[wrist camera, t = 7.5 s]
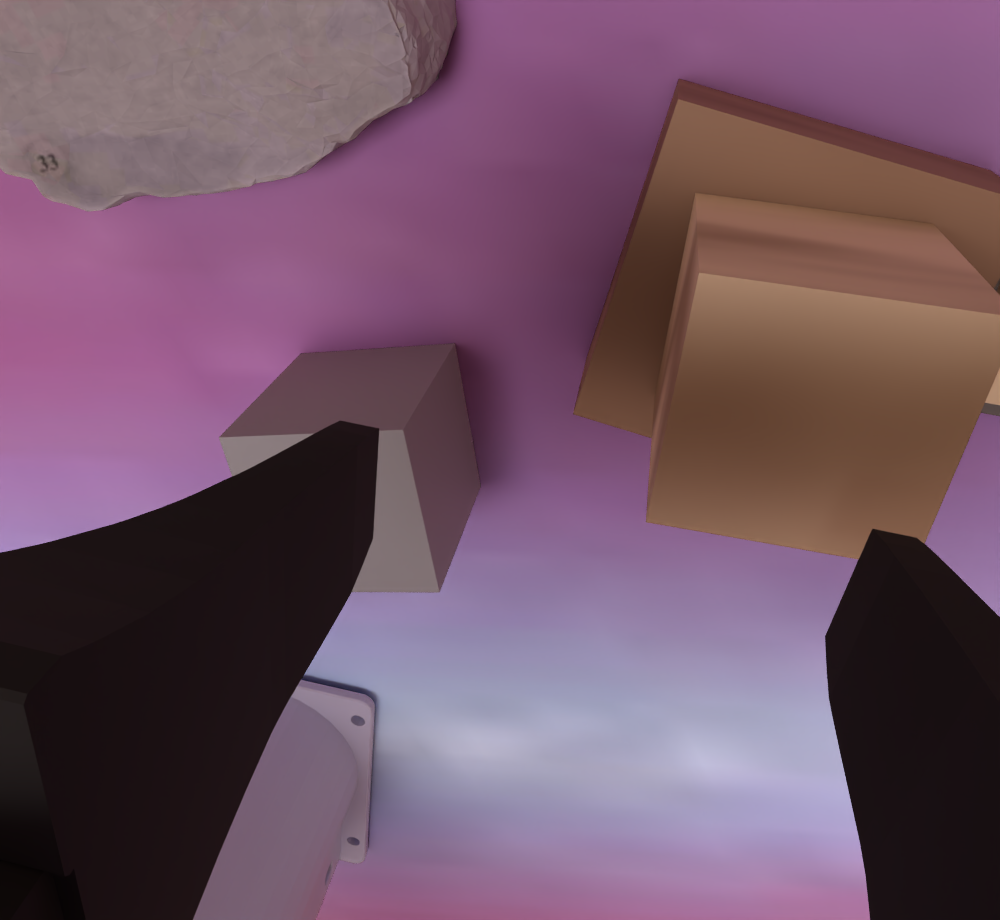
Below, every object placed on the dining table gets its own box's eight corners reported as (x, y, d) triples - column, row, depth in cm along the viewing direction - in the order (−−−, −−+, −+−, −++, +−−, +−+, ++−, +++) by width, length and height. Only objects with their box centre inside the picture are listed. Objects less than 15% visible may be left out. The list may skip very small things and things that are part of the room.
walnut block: (841, 431, 22) (866, 504, 19) (587, 353, 23) (573, 414, 20) (985, 166, 19) (1042, 206, 16) (678, 76, 19) (678, 98, 16)
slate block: (481, 485, 25) (438, 592, 21) (338, 488, 26) (271, 591, 22) (455, 342, 23) (403, 429, 19) (301, 352, 24) (218, 437, 20)
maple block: (861, 429, 19) (913, 568, 14) (654, 396, 19) (645, 521, 15) (933, 223, 16) (1021, 318, 12) (695, 192, 17) (698, 272, 13)
